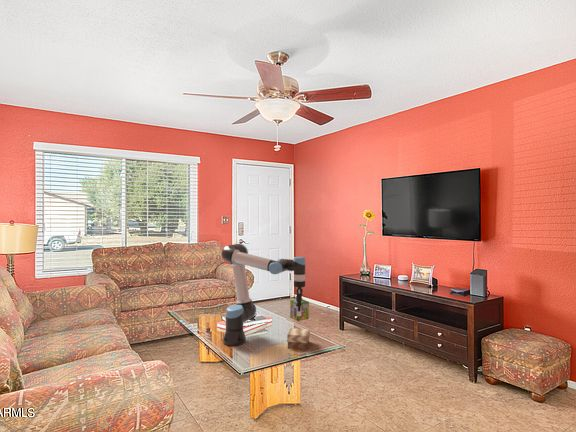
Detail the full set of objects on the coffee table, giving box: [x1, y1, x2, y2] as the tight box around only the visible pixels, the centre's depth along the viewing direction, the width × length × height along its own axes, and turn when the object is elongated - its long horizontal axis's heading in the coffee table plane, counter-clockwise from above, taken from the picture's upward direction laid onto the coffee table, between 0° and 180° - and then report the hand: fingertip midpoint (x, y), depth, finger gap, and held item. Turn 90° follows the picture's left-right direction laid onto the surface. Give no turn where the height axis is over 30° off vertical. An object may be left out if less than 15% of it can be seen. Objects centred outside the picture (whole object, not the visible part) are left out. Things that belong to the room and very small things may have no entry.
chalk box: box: [289, 295, 310, 322], centre depth 232 cm, size 9×9×15 cm
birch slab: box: [286, 327, 311, 343], centre depth 232 cm, size 13×13×4 cm
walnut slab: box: [287, 339, 310, 350], centre depth 232 cm, size 13×13×4 cm
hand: (299, 313), depth 232 cm, fingers closed on chalk box, 12 cm apart
